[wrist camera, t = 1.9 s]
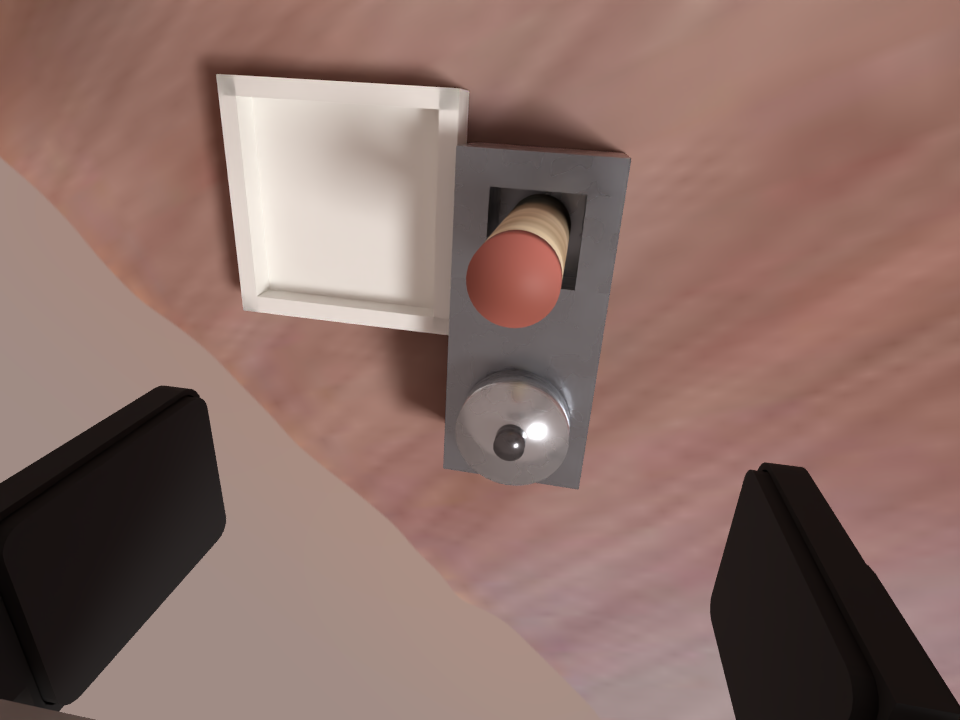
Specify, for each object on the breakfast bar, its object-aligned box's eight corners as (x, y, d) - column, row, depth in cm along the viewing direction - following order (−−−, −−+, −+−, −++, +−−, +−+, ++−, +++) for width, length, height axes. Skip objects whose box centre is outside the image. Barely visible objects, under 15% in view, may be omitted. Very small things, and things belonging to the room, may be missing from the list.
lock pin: (511, 191, 30) (468, 230, 19) (575, 196, 30) (566, 239, 19) (506, 253, 32) (463, 322, 21) (566, 259, 31) (555, 333, 20)
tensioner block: (475, 141, 31) (440, 148, 23) (624, 152, 30) (636, 163, 22) (460, 426, 38) (430, 499, 31) (579, 444, 37) (577, 523, 30)
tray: (242, 77, 31) (216, 73, 29) (469, 90, 30) (459, 88, 27) (264, 298, 37) (243, 310, 34) (458, 321, 35) (449, 335, 33)
